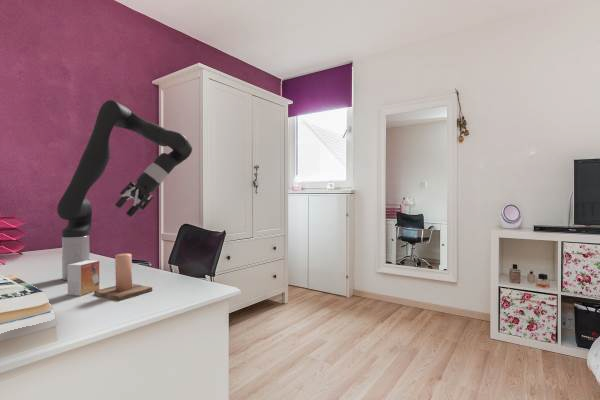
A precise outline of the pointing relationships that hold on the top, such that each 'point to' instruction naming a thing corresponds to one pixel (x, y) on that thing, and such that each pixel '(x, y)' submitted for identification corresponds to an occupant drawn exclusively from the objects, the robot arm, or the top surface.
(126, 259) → the terracotta canister
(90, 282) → the small box
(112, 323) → the top surface
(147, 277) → the top surface
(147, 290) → the walnut board
